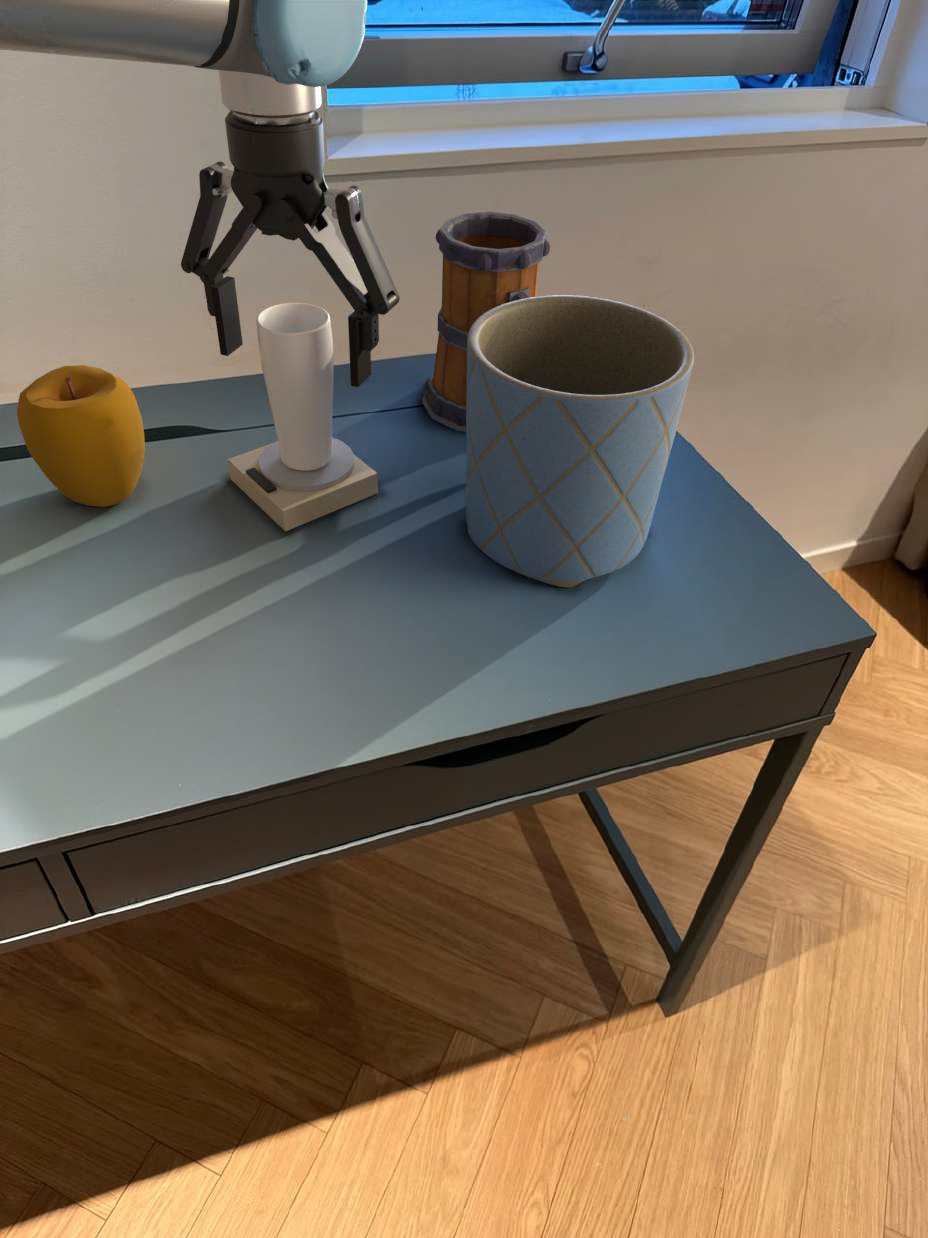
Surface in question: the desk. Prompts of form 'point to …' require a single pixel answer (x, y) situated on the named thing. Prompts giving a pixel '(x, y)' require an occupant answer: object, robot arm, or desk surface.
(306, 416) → the drinking glass
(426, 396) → the mug
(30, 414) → the apple
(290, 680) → the desk surface
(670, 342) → the planter
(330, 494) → the scale
